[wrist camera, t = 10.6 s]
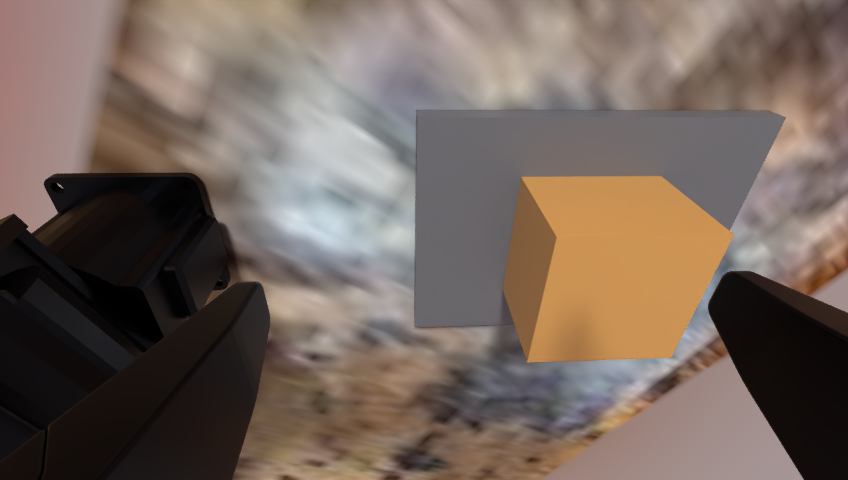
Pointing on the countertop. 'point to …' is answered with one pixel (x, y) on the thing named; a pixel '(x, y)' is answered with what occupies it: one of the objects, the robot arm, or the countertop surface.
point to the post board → (555, 157)
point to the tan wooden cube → (607, 266)
